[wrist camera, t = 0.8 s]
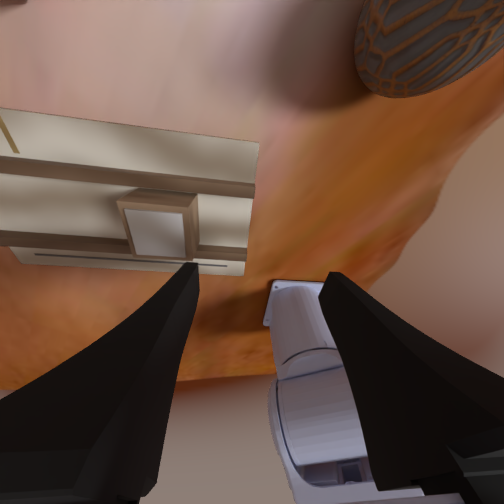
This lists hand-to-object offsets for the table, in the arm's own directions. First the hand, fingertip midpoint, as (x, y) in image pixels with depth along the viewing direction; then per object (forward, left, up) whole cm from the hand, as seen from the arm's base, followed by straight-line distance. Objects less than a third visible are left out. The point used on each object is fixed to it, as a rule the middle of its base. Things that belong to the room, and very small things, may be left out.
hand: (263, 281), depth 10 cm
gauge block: (-1, +8, -9) cm, 12 cm away
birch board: (-1, +12, -10) cm, 16 cm away
